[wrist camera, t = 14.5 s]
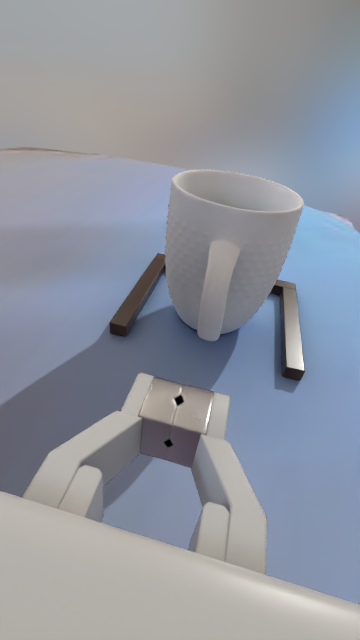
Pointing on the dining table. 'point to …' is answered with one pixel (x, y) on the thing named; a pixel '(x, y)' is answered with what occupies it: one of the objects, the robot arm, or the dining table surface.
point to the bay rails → (286, 290)
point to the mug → (226, 246)
